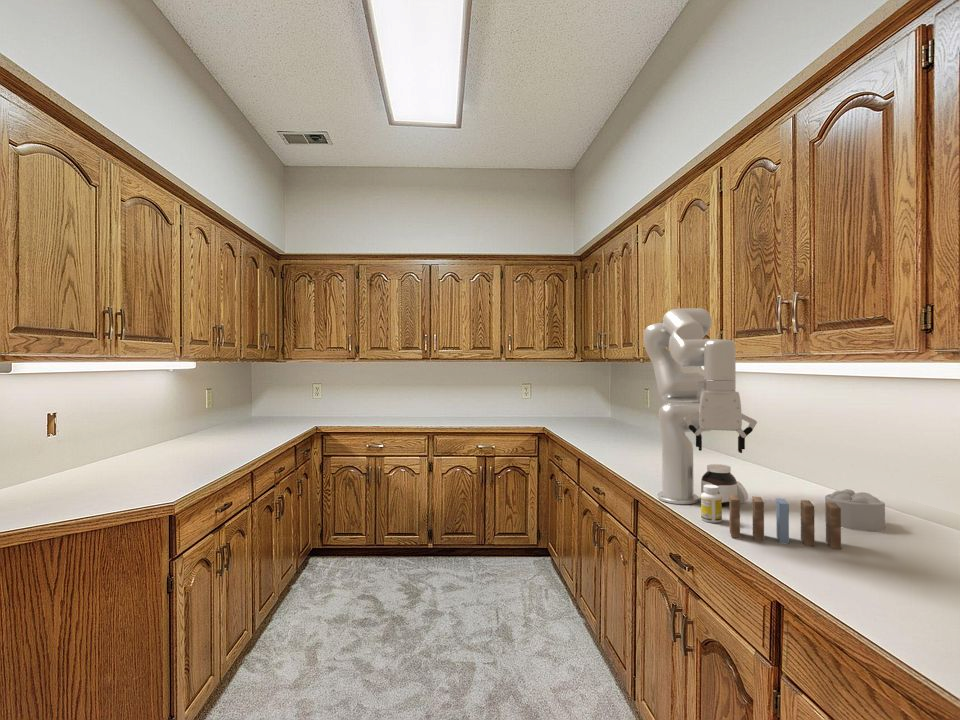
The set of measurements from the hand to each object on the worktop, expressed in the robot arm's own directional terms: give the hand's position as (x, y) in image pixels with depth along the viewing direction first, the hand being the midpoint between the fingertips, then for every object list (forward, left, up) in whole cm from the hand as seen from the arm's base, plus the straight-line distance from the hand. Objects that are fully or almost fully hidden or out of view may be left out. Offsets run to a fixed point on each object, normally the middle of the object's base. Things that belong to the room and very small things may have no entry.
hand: (719, 450), depth 137 cm
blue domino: (0, +14, -22) cm, 26 cm away
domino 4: (0, +25, -22) cm, 34 cm away
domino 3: (0, +20, -22) cm, 30 cm away
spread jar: (-31, +3, -22) cm, 38 cm away
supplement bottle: (-11, -2, -22) cm, 25 cm away
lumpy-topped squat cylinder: (-20, +35, -22) cm, 46 cm away
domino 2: (0, +9, -22) cm, 24 cm away
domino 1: (0, +3, -22) cm, 22 cm away
